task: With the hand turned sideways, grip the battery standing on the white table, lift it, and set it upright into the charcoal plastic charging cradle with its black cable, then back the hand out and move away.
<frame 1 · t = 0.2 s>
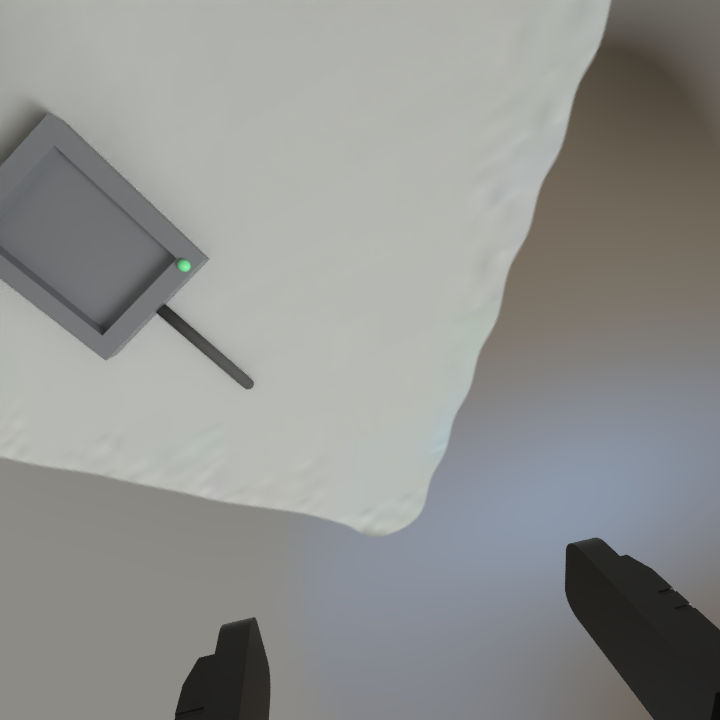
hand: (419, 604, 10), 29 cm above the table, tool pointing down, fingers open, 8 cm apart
charging cradle: (92, 247, 32), on the table
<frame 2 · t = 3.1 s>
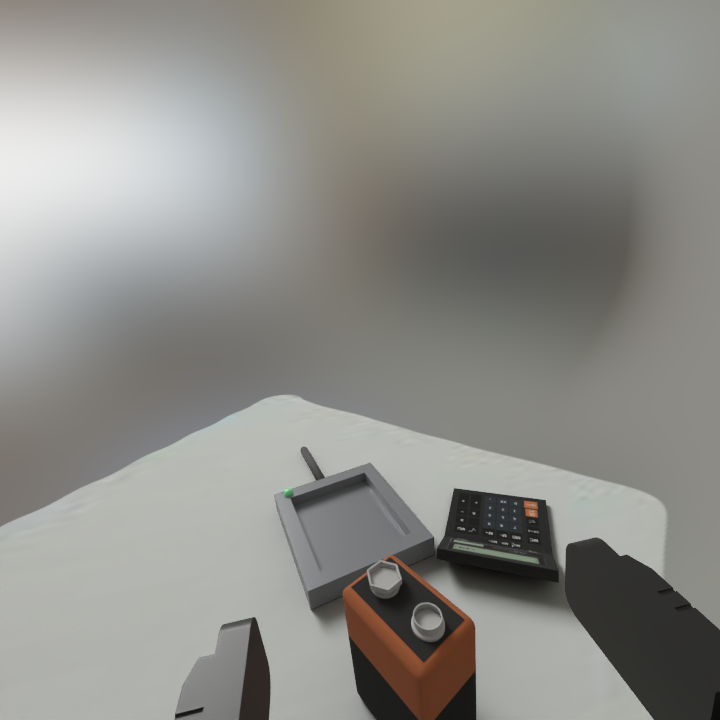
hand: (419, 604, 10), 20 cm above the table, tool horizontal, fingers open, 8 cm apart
charging cradle: (347, 529, 40), on the table
calculator: (496, 541, 38), on the table
battery: (413, 713, 25), on the table
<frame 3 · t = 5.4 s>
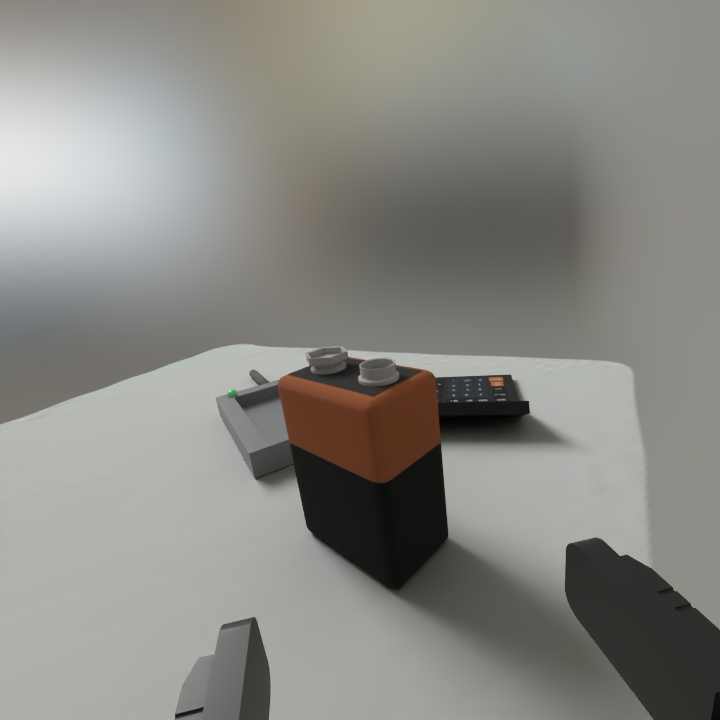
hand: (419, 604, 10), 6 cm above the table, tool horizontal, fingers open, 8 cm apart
charging cradle: (299, 419, 36), on the table
calculator: (462, 410, 35), on the table
battery: (375, 538, 21), on the table
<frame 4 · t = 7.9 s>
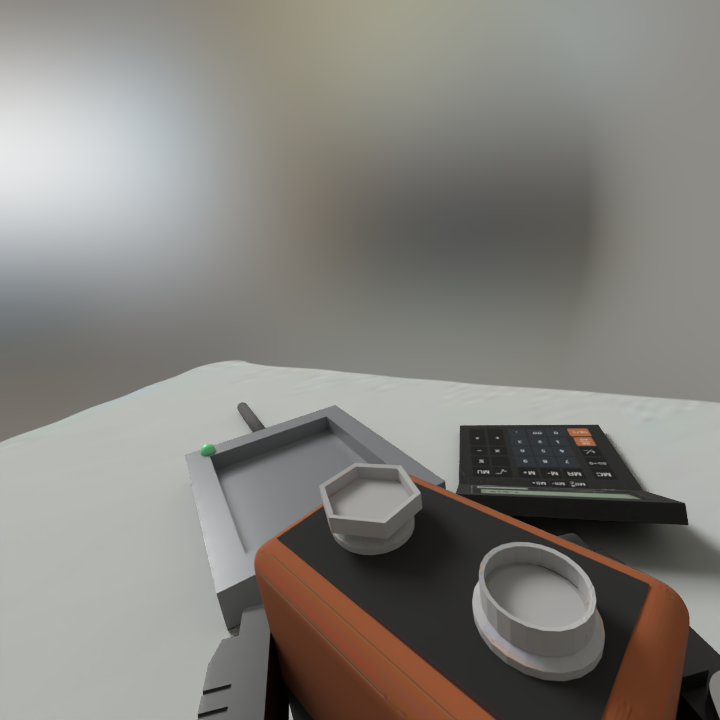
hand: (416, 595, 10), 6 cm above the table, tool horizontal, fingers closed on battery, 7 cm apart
charging cradle: (302, 493, 25), on the table
calculator: (540, 486, 24), on the table
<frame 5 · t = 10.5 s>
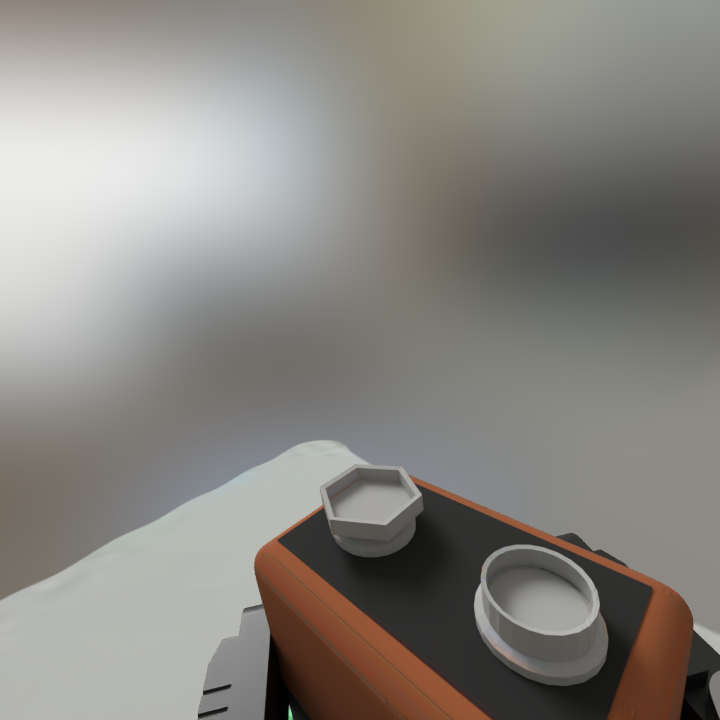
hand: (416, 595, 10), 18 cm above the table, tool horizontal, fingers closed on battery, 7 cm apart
when the fingers open (8 cm above the table, at t = 13.3 s): battery drops 1 cm, resting on charging cradle.
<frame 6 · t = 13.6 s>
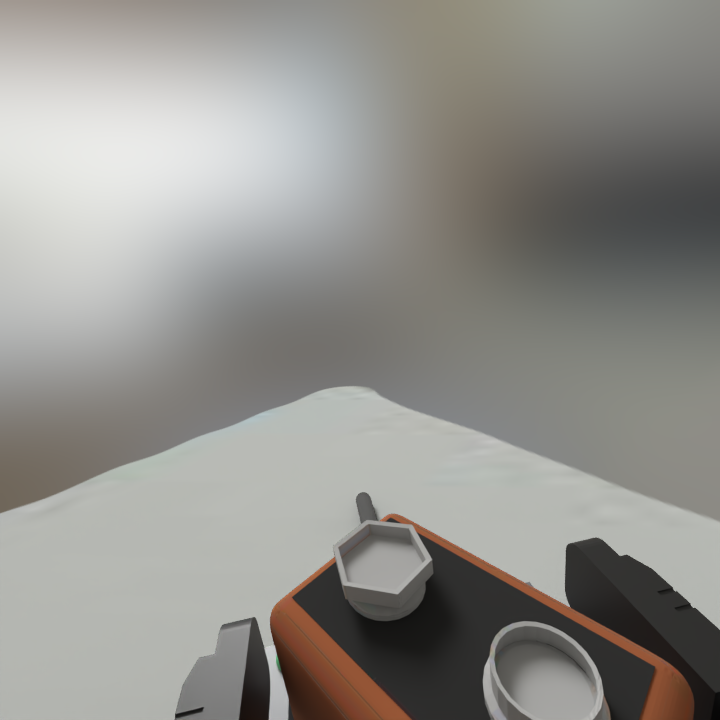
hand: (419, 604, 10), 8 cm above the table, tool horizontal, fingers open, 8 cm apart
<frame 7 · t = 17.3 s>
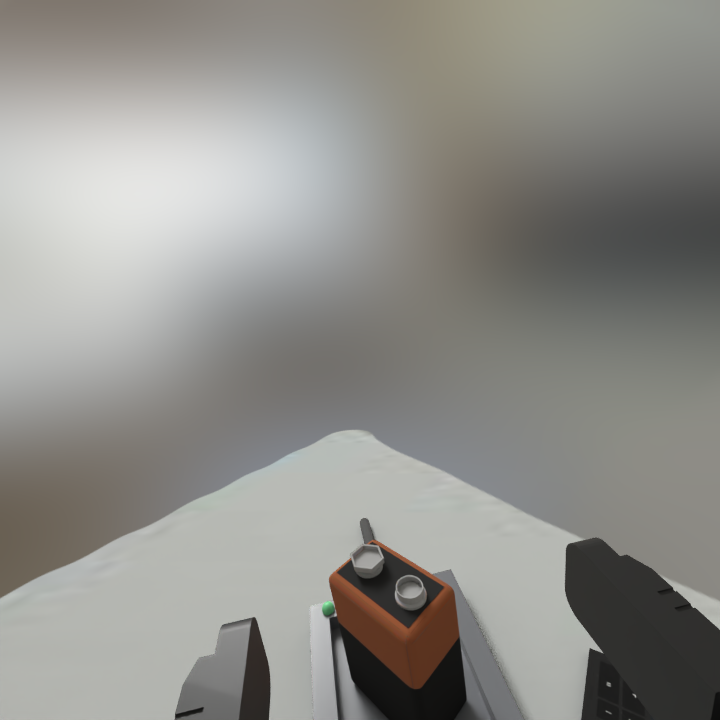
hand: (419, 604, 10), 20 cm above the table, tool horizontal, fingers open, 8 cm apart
charging cradle: (407, 696, 26), on the table
battery: (407, 692, 26), point 1 cm above the table, touching charging cradle
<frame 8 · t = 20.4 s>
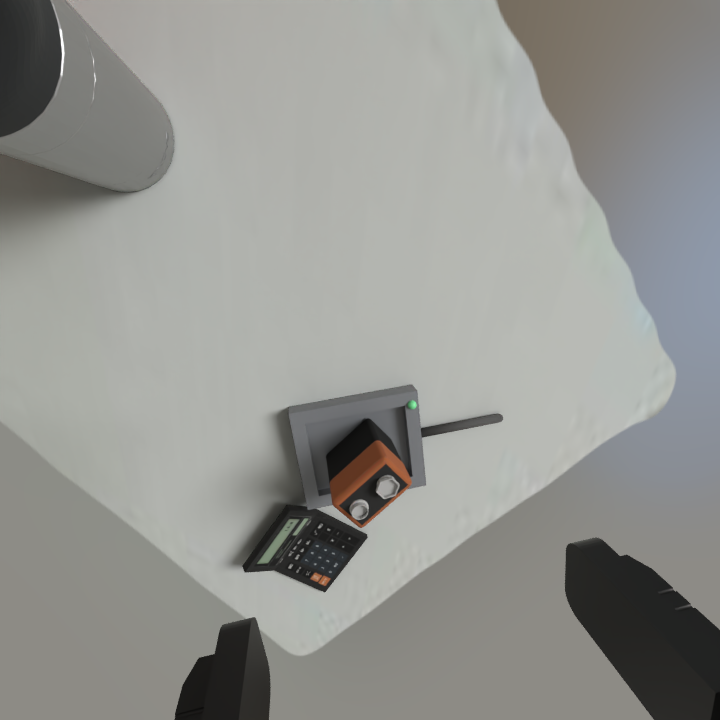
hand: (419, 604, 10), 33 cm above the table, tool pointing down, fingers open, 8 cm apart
charging cradle: (358, 443, 45), on the table
calculator: (306, 540, 48), on the table
battery: (358, 446, 45), point 1 cm above the table, touching charging cradle
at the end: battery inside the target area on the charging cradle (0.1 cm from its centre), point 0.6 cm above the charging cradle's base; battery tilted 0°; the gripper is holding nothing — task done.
